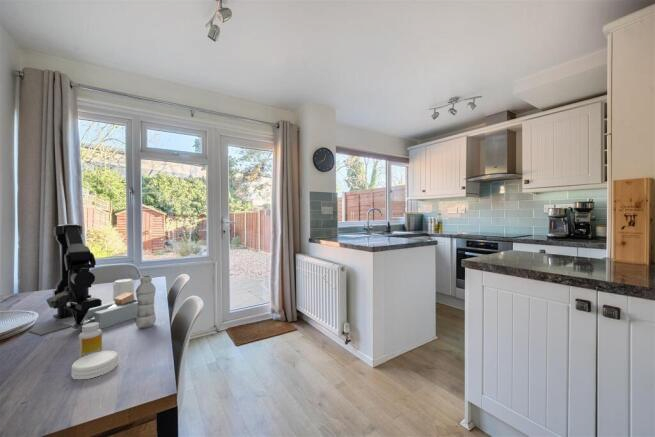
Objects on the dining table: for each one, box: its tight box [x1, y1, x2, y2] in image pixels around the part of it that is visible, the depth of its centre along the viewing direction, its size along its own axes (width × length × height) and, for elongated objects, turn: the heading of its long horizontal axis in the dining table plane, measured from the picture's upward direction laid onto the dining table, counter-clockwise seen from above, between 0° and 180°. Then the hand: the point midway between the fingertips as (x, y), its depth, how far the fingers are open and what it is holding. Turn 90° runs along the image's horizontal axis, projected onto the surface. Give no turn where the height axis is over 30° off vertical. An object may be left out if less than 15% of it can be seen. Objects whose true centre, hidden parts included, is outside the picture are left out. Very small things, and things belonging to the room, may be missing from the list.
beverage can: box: [112, 278, 135, 302], centre depth 132 cm, size 8×8×12 cm
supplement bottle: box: [78, 322, 103, 359], centre depth 84 cm, size 5×5×10 cm
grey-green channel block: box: [83, 297, 138, 330], centre depth 113 cm, size 18×12×6 cm, turn 157°
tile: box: [114, 292, 135, 305], centre depth 116 cm, size 5×5×2 cm
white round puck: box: [70, 350, 119, 380], centre depth 76 cm, size 10×10×4 cm
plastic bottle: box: [135, 275, 157, 329], centre depth 105 cm, size 6×7×20 cm
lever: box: [71, 299, 134, 331], centre depth 110 cm, size 21×4×1 cm, turn 157°
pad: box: [28, 321, 72, 337], centre depth 103 cm, size 9×9×1 cm
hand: (78, 323), depth 102 cm, fingers closed, pressing on lever
